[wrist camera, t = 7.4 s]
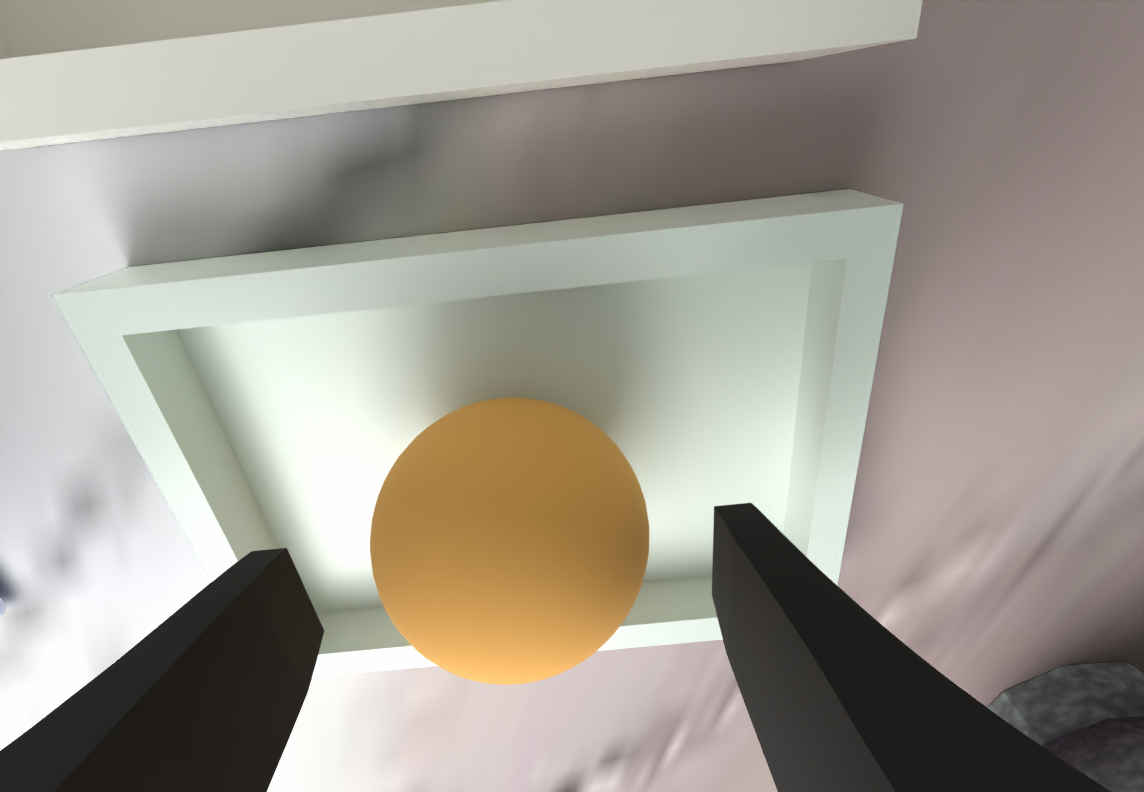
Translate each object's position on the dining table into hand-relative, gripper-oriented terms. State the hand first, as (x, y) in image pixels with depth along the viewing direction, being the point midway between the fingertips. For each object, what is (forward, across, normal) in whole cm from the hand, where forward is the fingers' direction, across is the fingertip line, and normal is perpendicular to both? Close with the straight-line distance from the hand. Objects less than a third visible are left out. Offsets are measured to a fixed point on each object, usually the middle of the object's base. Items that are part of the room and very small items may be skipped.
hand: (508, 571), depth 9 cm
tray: (+4, 0, 0) cm, 4 cm away
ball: (+1, 0, 0) cm, 1 cm away
